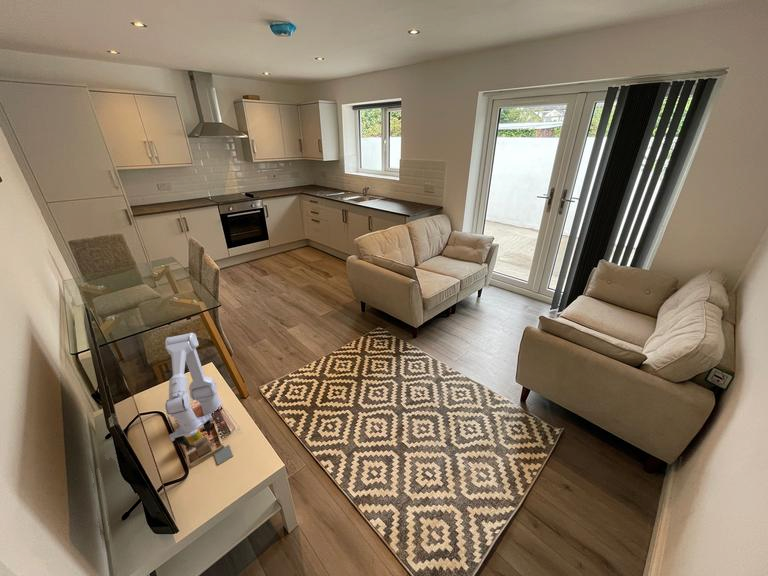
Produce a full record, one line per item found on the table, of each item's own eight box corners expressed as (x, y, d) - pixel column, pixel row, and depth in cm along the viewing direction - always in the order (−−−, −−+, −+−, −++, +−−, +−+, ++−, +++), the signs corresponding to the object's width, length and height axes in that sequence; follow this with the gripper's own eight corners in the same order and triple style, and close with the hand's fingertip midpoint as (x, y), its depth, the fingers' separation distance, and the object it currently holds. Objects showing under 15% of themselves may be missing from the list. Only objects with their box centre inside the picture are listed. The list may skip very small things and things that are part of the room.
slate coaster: (214, 453, 127) (213, 453, 127) (229, 445, 130) (228, 444, 130) (217, 465, 123) (217, 464, 123) (233, 456, 126) (232, 455, 126)
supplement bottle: (198, 446, 130) (190, 433, 124) (186, 445, 130) (177, 431, 125) (205, 434, 134) (198, 421, 129) (194, 433, 135) (186, 420, 129)
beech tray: (182, 439, 132) (181, 437, 131) (215, 422, 139) (214, 420, 138) (189, 468, 122) (188, 466, 121) (224, 447, 129) (223, 445, 128)
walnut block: (198, 449, 129) (193, 442, 126) (209, 442, 131) (205, 435, 128) (200, 457, 126) (196, 450, 123) (212, 451, 128) (208, 443, 125)
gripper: (166, 438, 110) (180, 458, 117) (209, 415, 118) (220, 435, 125) (163, 424, 115) (177, 444, 122) (205, 403, 122) (215, 423, 130)
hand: (198, 439), depth 124 cm, fingers open, 7 cm apart
